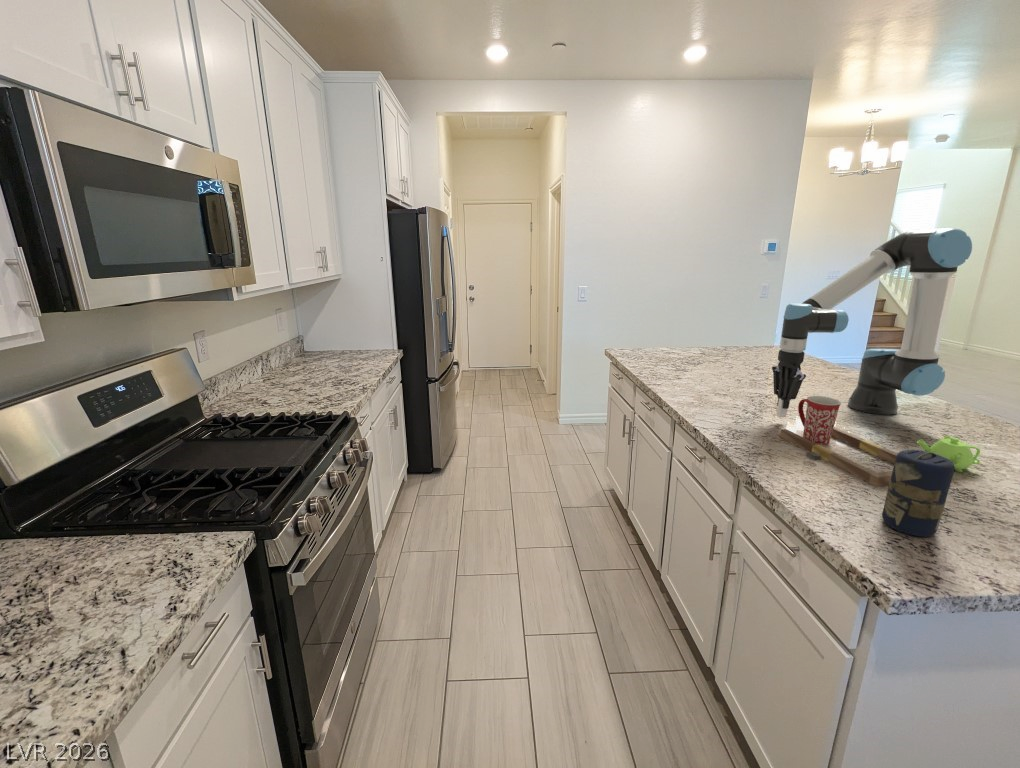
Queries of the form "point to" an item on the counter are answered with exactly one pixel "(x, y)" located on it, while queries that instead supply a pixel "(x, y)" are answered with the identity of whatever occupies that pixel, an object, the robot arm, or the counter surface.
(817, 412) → the mug
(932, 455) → the canister
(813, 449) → the beam slot
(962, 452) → the teapot
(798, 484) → the counter surface
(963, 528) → the counter surface
